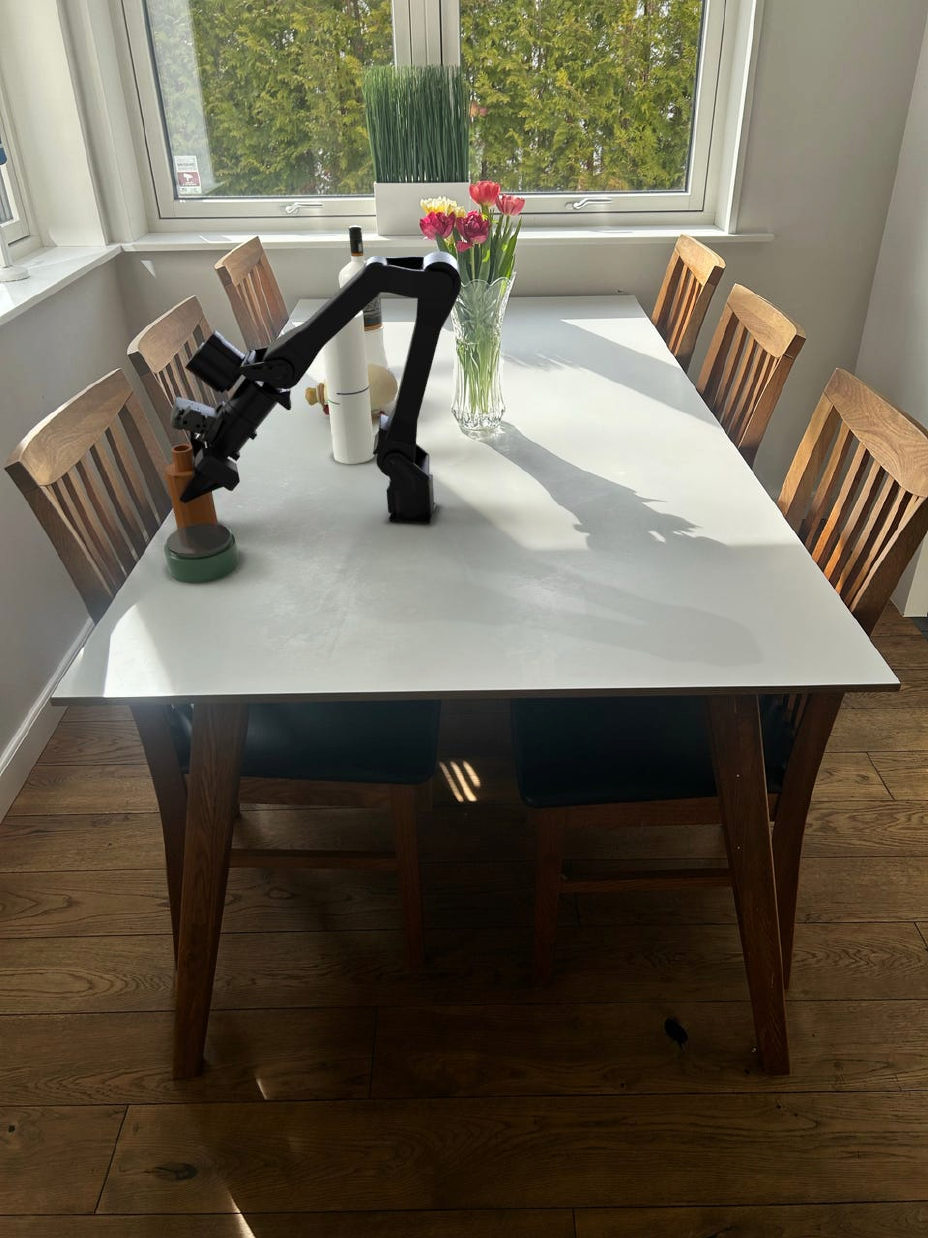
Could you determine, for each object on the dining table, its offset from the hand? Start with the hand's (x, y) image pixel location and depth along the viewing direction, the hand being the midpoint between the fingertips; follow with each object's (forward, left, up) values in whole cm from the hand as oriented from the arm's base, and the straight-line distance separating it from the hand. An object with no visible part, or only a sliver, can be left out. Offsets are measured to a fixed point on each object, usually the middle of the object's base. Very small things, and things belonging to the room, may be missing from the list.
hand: (181, 492), depth 142 cm
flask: (-13, -50, -7) cm, 52 cm away
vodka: (-10, -73, -7) cm, 74 cm away
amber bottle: (-1, -1, -7) cm, 7 cm away
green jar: (-6, +9, -7) cm, 13 cm away
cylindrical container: (-18, -31, -7) cm, 36 cm away
